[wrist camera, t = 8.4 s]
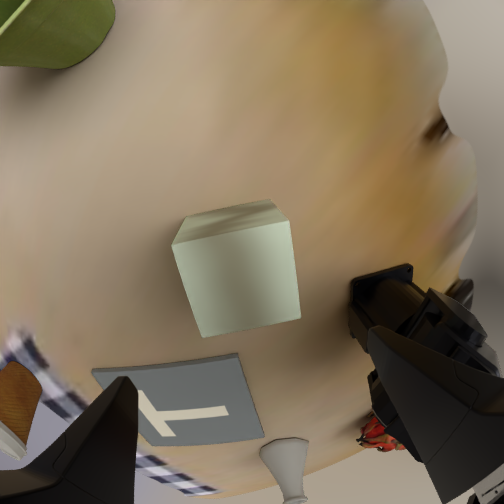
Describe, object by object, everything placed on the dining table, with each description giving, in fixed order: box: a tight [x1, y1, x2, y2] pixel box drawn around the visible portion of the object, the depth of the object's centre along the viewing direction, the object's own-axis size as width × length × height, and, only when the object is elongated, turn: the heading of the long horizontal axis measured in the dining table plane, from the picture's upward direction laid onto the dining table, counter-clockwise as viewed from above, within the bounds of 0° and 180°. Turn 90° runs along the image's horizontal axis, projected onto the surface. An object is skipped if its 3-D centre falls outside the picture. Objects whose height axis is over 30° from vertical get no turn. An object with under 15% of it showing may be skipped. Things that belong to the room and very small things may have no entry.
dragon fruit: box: [356, 411, 406, 452], centre depth 28 cm, size 8×8×12 cm
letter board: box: [91, 353, 265, 446], centre depth 26 cm, size 16×16×1 cm
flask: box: [259, 438, 309, 504], centre depth 27 cm, size 7×7×10 cm
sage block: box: [171, 199, 301, 338], centre depth 17 cm, size 6×6×6 cm
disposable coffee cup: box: [0, 361, 42, 460], centre depth 18 cm, size 10×10×12 cm
